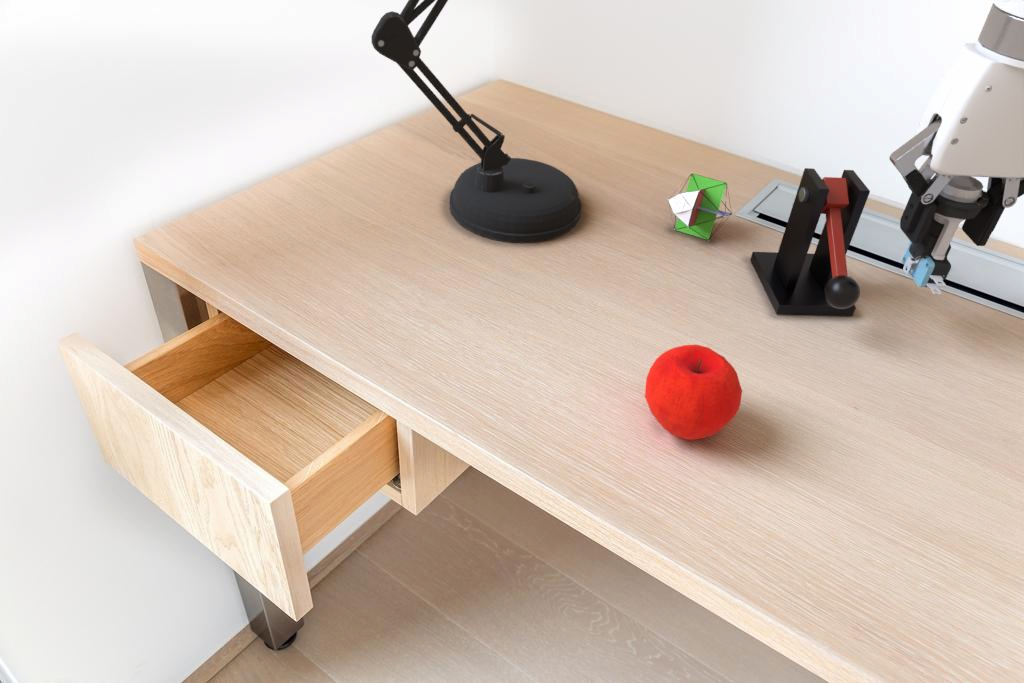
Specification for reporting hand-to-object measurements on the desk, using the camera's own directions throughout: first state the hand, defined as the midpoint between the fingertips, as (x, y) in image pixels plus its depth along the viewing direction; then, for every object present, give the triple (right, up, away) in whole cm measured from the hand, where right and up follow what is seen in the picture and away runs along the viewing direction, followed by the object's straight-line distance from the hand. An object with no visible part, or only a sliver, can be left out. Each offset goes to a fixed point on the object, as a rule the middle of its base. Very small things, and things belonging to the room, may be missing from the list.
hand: (941, 235), depth 73 cm
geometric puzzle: (-18, +3, +20) cm, 27 cm away
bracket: (-9, -4, +12) cm, 15 cm away
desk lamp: (-38, +6, +22) cm, 44 cm away
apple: (-25, -17, -5) cm, 31 cm away
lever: (-8, -1, +5) cm, 10 cm away
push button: (0, -4, +3) cm, 5 cm away
